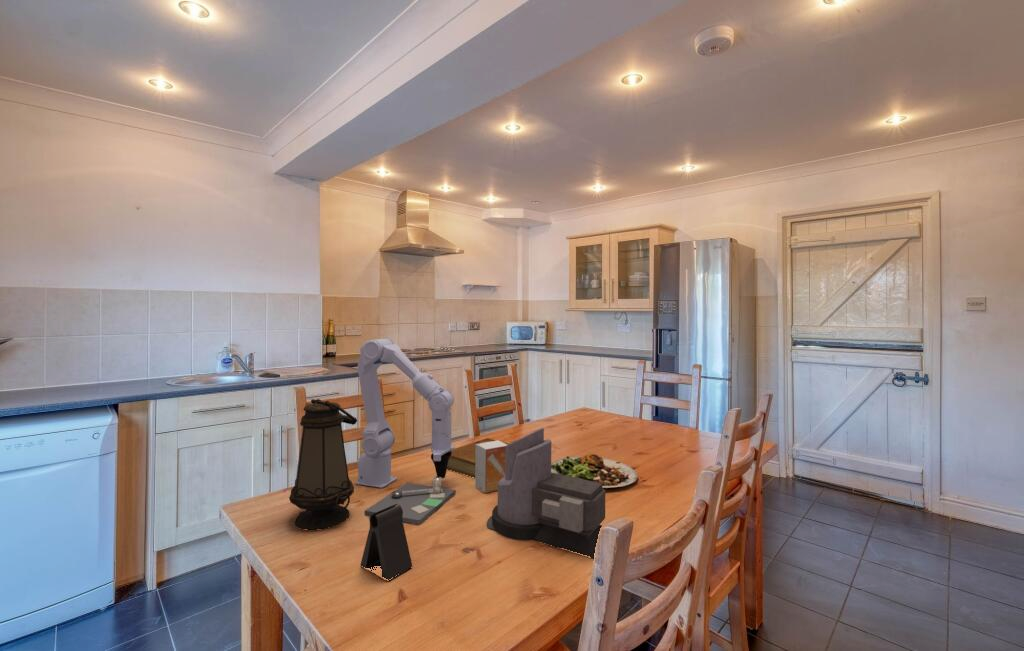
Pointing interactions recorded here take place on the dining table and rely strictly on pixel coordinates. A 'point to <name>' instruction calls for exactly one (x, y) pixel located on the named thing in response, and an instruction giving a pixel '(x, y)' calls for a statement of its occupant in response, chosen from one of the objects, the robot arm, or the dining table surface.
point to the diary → (465, 458)
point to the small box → (489, 465)
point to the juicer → (546, 500)
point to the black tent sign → (387, 543)
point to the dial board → (414, 503)
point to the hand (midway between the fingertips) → (441, 477)
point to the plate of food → (596, 470)
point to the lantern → (322, 467)
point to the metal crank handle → (435, 489)
